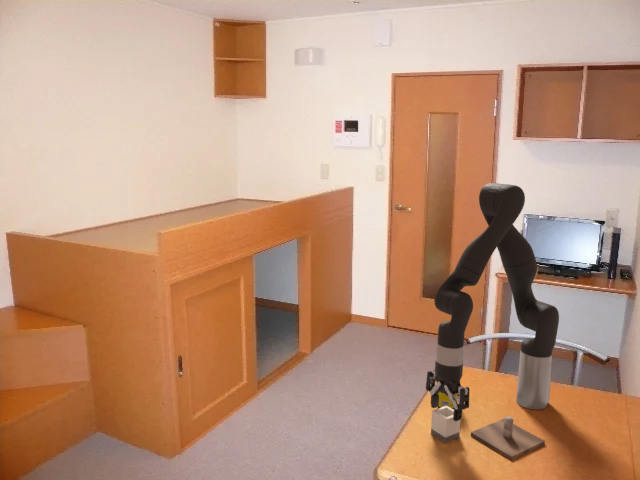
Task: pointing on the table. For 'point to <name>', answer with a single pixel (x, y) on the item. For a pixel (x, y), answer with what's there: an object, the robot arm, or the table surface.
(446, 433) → the sleeve
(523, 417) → the table surface
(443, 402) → the supplement box
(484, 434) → the pin plate
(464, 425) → the table surface
